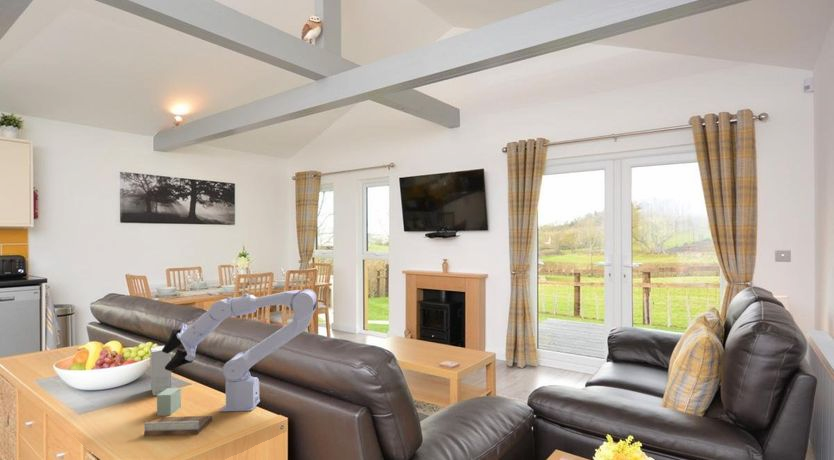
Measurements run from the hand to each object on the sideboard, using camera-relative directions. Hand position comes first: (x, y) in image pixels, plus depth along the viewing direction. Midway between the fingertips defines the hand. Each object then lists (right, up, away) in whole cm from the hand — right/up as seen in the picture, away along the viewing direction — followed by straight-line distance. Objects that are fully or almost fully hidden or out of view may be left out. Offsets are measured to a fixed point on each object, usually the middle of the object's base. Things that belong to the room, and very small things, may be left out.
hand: (166, 360), depth 135 cm
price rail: (+11, -14, -17) cm, 24 cm away
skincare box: (-11, -16, +17) cm, 25 cm away
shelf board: (+11, -15, -13) cm, 22 cm away
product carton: (+2, -15, -1) cm, 15 cm away
